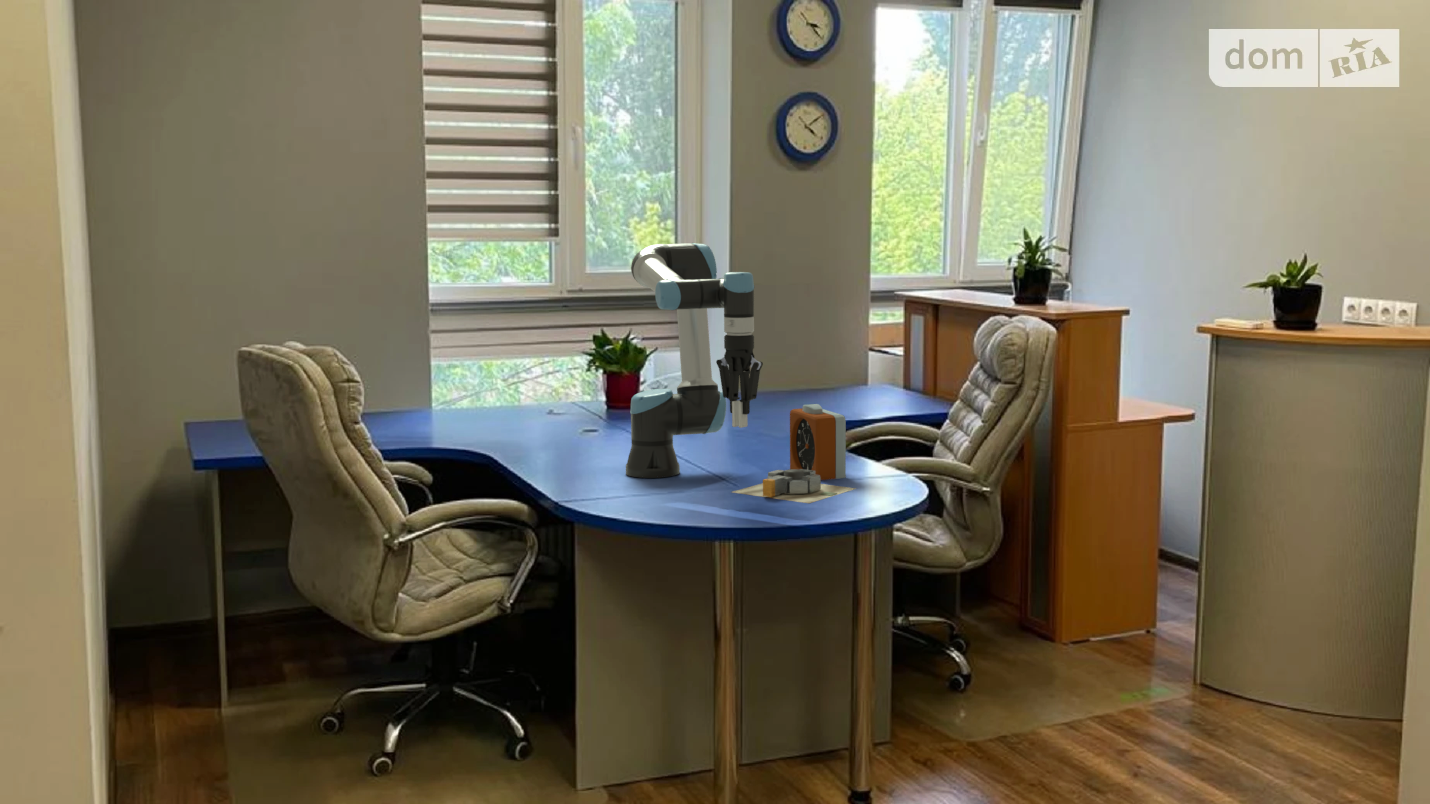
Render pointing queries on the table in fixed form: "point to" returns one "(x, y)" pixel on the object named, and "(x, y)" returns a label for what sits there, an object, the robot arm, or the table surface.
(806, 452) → the alarm clock
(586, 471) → the table surface
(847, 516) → the table surface
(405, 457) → the table surface
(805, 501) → the collar base
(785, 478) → the grey handled ring
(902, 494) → the table surface
